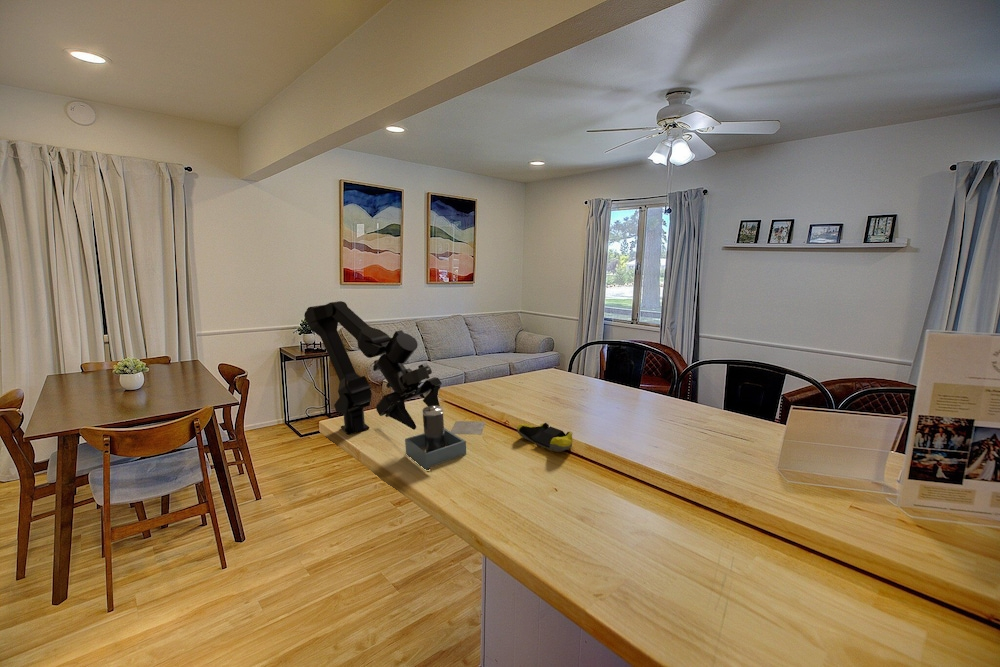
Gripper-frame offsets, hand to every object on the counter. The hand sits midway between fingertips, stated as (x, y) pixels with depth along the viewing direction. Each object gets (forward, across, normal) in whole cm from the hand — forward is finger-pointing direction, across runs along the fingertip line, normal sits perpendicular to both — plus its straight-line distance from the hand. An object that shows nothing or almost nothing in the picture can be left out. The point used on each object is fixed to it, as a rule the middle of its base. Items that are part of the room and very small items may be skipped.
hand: (428, 422), depth 111 cm
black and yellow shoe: (+23, +20, -10) cm, 32 cm away
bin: (+8, 0, +5) cm, 9 cm away
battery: (+7, 0, +4) cm, 8 cm away
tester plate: (+6, +17, +7) cm, 19 cm away
